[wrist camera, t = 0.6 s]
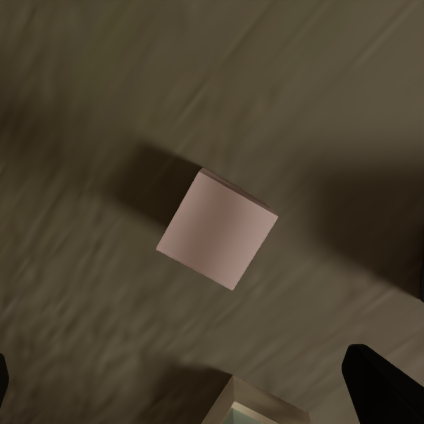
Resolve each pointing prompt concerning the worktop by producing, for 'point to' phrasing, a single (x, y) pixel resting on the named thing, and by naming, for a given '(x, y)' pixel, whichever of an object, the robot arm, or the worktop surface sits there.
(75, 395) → the worktop surface
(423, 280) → the small box
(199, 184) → the rose cube
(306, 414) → the beech base block
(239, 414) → the sage top block
